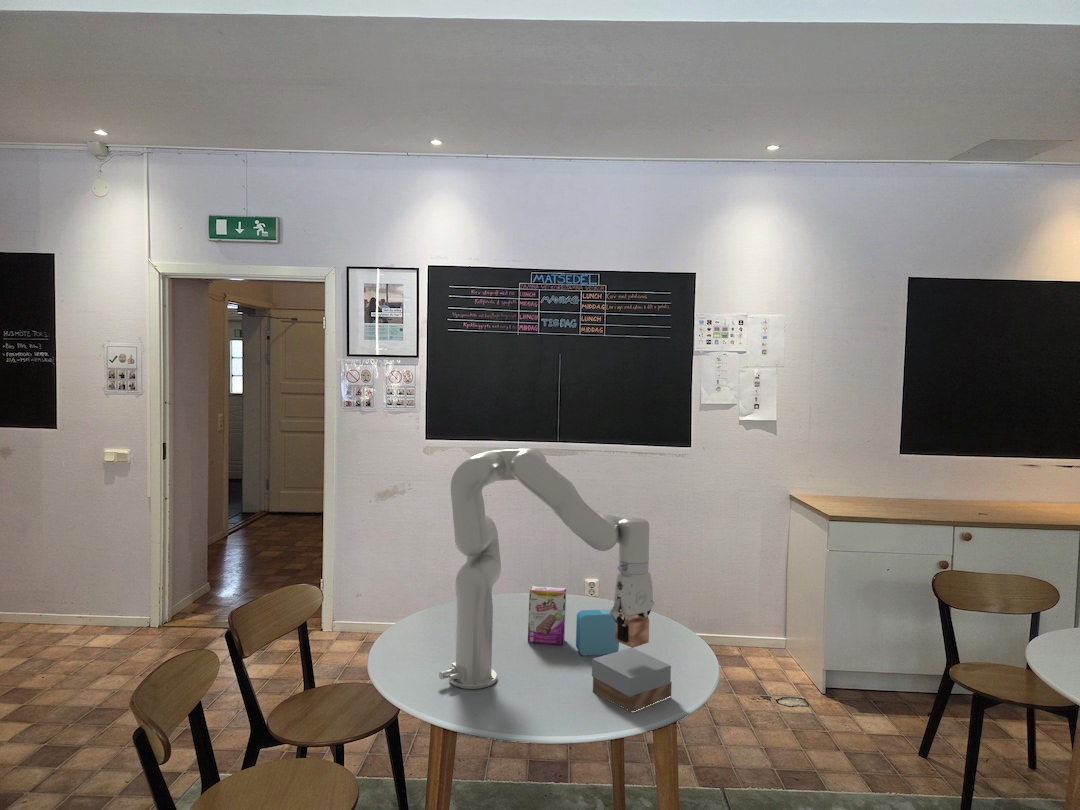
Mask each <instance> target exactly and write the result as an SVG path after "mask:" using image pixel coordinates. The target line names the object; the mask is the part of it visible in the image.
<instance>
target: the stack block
mask: <svg viewBox="0 0 1080 810" xmlns="http://www.w3.org/2000/svg"><path fill="white" fill-rule="evenodd" d="M622 619H624V615H622ZM627 626H628V642H623V641H621V640H618V638H617V631H618V624H616V623H615V641H617V642H619V644H622V645H624V646H627V647H629V648H634V649H635V648H636V647H639V646H643V645H645V644H648V643H650V618H649V617H648V618H645V617H642V616H640V615H634V616H629V619H628V622H627Z"/></svg>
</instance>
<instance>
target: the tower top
mask: <svg viewBox="0 0 1080 810" xmlns="http://www.w3.org/2000/svg"><path fill="white" fill-rule="evenodd" d="M591 662H592V663H591V676H592V678H593V677H595V678H596V679H598V680H600V681H602V682H604V683H605V684H607V685H609V686H611V687H613V688H615V689H616V690H618V691H620V692H622V693H624V694H625V695H627V696H629V697H631V696H634V695H637V694H640V693H643V692H646V691H649V690H652V689H655V688H658V687H661V686H664V685H667V684H670V682H671V676H672V673H671V672H672V665H671V664H669V663H666V662H664V661H663V660H660V659H657V658H655V657H653V656H651V655H649V654H647V653H644V652H642V651H640V650H639V649H636V648H635V647H634V648H632V647H629V648H626V649H625V648H624V649H622V650H618V652H614V653H611V654H607V655H599V656H598V657H594V658H592V661H591Z"/></svg>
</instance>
